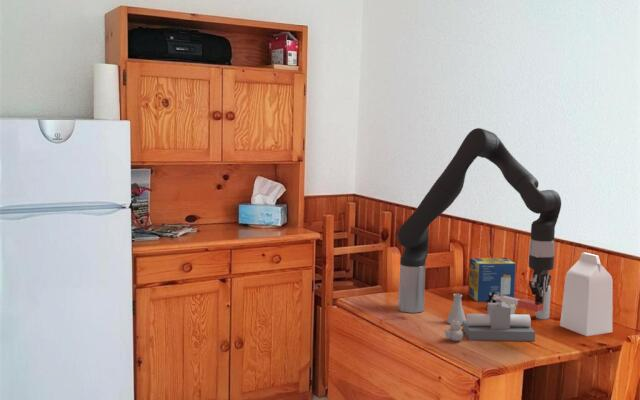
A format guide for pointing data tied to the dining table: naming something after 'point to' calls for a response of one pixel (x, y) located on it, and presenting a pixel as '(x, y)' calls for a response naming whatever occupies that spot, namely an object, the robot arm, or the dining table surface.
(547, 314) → the beverage can
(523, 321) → the pipe manifold
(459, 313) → the flask
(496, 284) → the protein box
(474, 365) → the dining table surface
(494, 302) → the valve
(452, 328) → the rubber duck
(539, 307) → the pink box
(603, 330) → the milk
